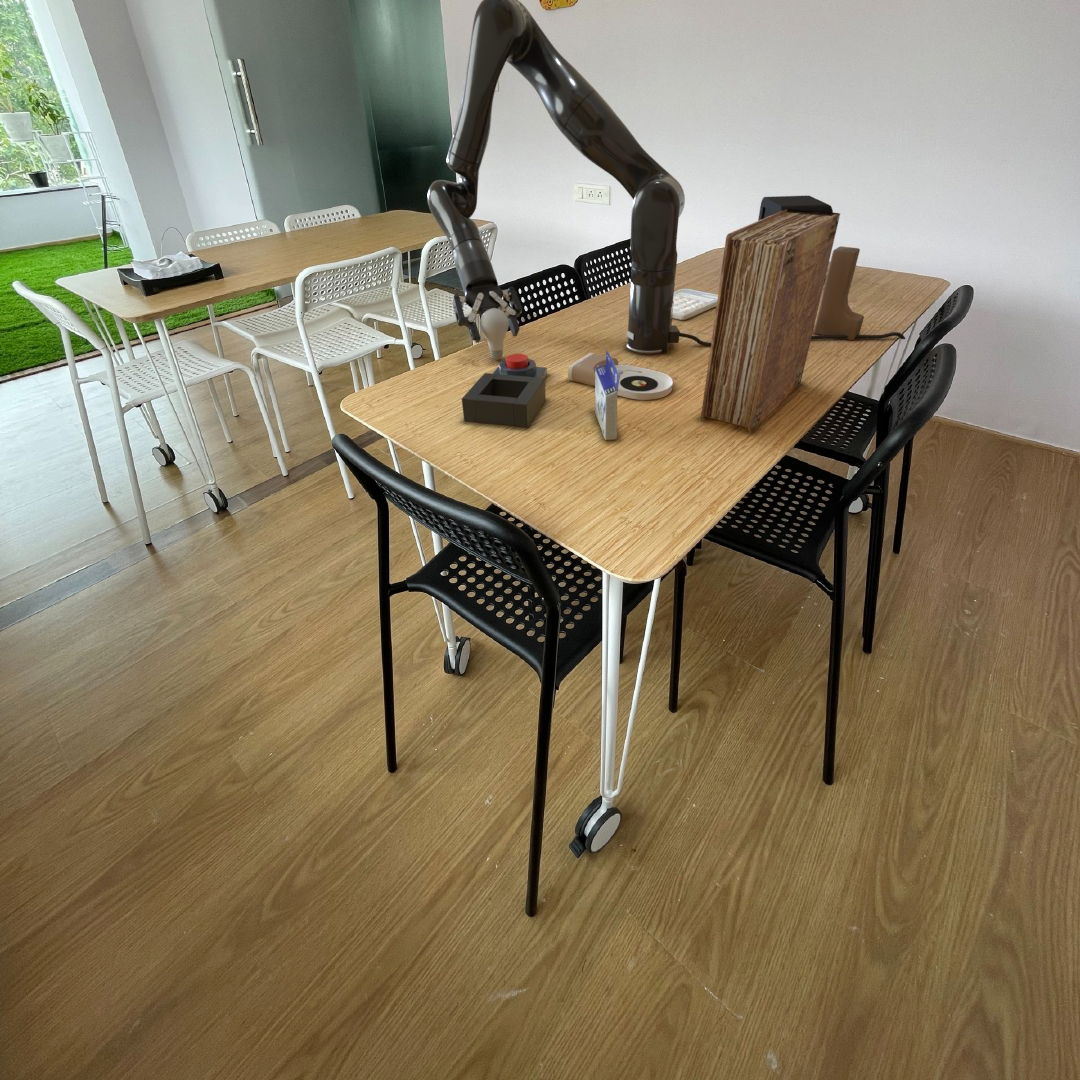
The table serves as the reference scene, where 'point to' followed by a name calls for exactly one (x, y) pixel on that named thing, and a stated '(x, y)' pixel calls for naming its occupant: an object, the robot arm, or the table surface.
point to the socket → (504, 400)
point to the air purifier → (791, 205)
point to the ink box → (607, 398)
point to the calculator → (692, 303)
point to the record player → (623, 378)
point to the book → (766, 313)
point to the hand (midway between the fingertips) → (497, 337)
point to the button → (517, 361)
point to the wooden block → (839, 297)
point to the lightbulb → (495, 330)
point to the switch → (522, 370)
